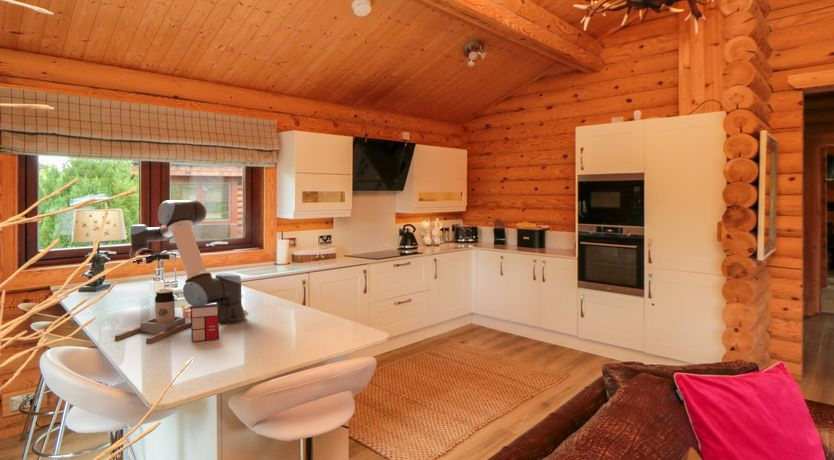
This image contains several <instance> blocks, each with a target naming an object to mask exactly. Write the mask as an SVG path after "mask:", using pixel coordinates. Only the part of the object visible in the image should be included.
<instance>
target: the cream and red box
mask: <svg viewBox="0 0 834 460" xmlns="http://www.w3.org/2000/svg"><path fill="white" fill-rule="evenodd" d="M190 322H191V327H190V335H191V342H192V343H195V342H206V341H215V340H220V324H219V307H218V304H216V303H211V304H206V305H196V306H192V305H190Z"/></svg>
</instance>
